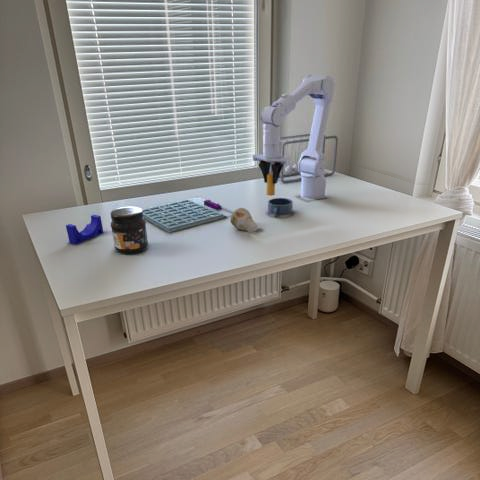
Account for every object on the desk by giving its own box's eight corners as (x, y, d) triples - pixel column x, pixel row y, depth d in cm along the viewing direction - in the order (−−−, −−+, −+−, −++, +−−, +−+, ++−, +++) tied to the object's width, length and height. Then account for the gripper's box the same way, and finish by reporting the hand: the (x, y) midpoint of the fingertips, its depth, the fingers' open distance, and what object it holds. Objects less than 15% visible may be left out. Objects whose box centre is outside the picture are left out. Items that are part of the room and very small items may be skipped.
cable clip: (94, 230, 158) (91, 213, 155) (103, 232, 156) (100, 215, 153) (66, 242, 150) (62, 224, 147) (75, 244, 148) (72, 226, 145)
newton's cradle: (321, 170, 224) (324, 131, 215) (335, 175, 217) (338, 135, 207) (269, 178, 213) (270, 138, 203) (281, 183, 205) (282, 142, 196)
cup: (271, 208, 176) (271, 197, 173) (294, 210, 173) (295, 199, 171) (263, 218, 166) (263, 206, 164) (287, 221, 164) (288, 208, 161)
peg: (271, 192, 173) (272, 172, 169) (276, 194, 170) (276, 174, 166) (265, 194, 172) (265, 173, 168) (269, 196, 169) (269, 175, 165)
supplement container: (110, 255, 140) (104, 217, 134) (120, 241, 149) (114, 205, 143) (144, 255, 140) (139, 217, 133) (152, 242, 149) (147, 205, 142)
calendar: (133, 212, 175) (132, 206, 173) (196, 197, 189) (196, 191, 188) (169, 232, 156) (168, 225, 155) (236, 214, 170) (236, 208, 169)
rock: (249, 238, 151) (235, 210, 148) (237, 241, 160) (224, 215, 157) (266, 228, 153) (253, 200, 151) (254, 232, 162) (241, 206, 160)
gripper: (248, 144, 162) (248, 182, 169) (284, 148, 155) (283, 188, 163) (258, 140, 167) (257, 178, 174) (293, 144, 160) (292, 183, 168)
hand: (270, 182), depth 169 cm, fingers closed on peg, 3 cm apart
